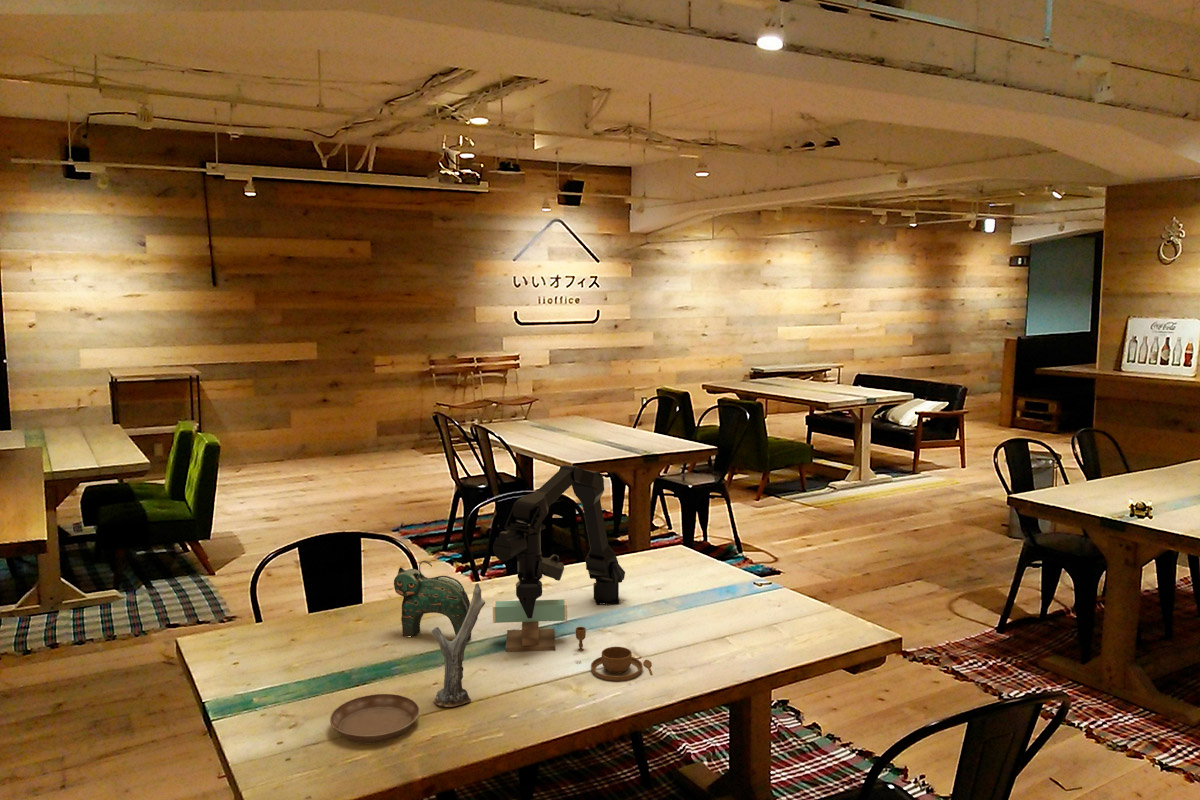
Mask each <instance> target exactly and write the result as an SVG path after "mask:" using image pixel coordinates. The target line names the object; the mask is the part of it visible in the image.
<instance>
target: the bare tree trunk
mask: <svg viewBox="0 0 1200 800" xmlns="http://www.w3.org/2000/svg"><path fill="white" fill-rule="evenodd" d="M485 604H486V601H485V600H484V599H483V598H482V589H481V586H480V584H479V583H478V582H477V583H475V585H474V588H473V591H472V598H471V601H470V607H469V610H468V613H467V615H466V617H465V620H464V622H463V624H462V627H461V629H460V631H459V633H458V634H457V636H455V637H454V638H453V639H452V640H448V639H447V638H446V637H445V635H444V634H443V632H442V630H441V629H440V627H438V626H437V627H434V628H433V629H432V630H431V634H432V637H433V638H434V640H435V641H436V643H438V645H439V649H440V651H441V654H442V656H443V658H444V676H443V678H444V679H443V688H441V689H439V690H438V691H437V692H436V695H435V698H434V699H433V700H432V701H433V702H434V703H435V704H436V706H437V705H438V706H444V707H446V708H447V707H451V708H452V707H456V706H462V705H464V704H467V703H471V701H472V699H471V698H470V696H469V693H468V691H467V690H466V689H464V688H463V681H462V680H463V678H464V674H463V673H464V666H463V661H464V657H465V651H466V650H465V649H466V646H467V643H468V642H467V639H468V637H469V635H470V633H471V634H472V630H473V629H474V627H475V625H476V624H477V621H478V619H479V618H478V616H479V615H480V613H481V610H482V609H483V607H484V606H485Z"/></svg>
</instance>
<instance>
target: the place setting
mask: <svg viewBox="0 0 1200 800" xmlns="http://www.w3.org/2000/svg"><path fill="white" fill-rule="evenodd" d="M586 630H587V629H586V627H584V626H577V627H575V638H576V640H578V642H579V643H578V649H577V650H578V651H579V652H582V651H584V648H583V647H584V644H583V641H585V638H586V635H587V631H586ZM581 663H582V660H576V662H575V664H578V665H579V664H581ZM601 665H602V666H603V668H604V669H605V670H607V671H608V672H609V673H611V674H614V675H608V674H603V673H600V672H598V671H596V670H597V667H599V666H601ZM631 665H633V666H634V667H636V668H637V671H636V672H633V673H630V674H626V675H617V674H623V673H624V672H626V670H628V669H630V667H631ZM643 665H644V667H645V668H648V671H649V675H650V676H654V673H653V672H652V670H651V666H652V662H651V660H649V659H645V660H644V661H643V662H641V661H640V660H639V659H638V658H636V657H633V656H632V651H631V649H629V648H627V647H624V646H610V647H606V648H604V649H603V650H602V651H601V656H600V657H597V658H596V659H594V660H593V661H592V662H591V664H590V670H591V672H592V673H593V675H595V676H596V677H597V678H599V679H600V680H605V681H609V682H622V681H623V682H624V681H629V680H632V679H635V678H637V677H638V676H639V675H641V673H642V671H643ZM615 674H616V675H615Z"/></svg>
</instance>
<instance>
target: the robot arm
mask: <svg viewBox="0 0 1200 800" xmlns="http://www.w3.org/2000/svg"><path fill="white" fill-rule="evenodd" d="M570 487H571V489H572V491H573V493H574V496H575V497H577V499H578V500H579V502H580V503H581V505H582V510H583V515H584V521H585V526H586V532H587V537H588V542H589V548H590V550H589V552H588V554H587V556H585V557H584V562H585V569H586V571H588V576H589V578H590V579H593V580H595V582H593V600H594V601H595V604H596V605H618V604H620V603H621V602H620V598H619V595H620V594H619V593H620V592H619V590H620V588H619V584H621V583H623V581H624V580H625V576H626V571H625V570H624V569H623V567H622V566H621V565H620V564H619V560H618V558H617V553H616V552H614V550H613V549H612V548H611V546H610V545H609V542H608V536H607V531H606V524H605V519H604V513H603V508H602V502H601V498H602V496H603V494H604V491H605V479H604V475H603V474H602V473H601V472H600V471H596V470H594V471H593V470H588V469H583V468H581V467H579V466H576V465H569V464H564V465H561V466H560V467H559V470H557V472H556V473H555V474H553V476H551V477H550V478H549V479H548V480H547V481H546V482H545V483H544V484H542V485H541V486H540V487H539V488H538V489H537V490H536V491H534V492H533V493H528V494H525V495H523V496H521V497H520V498H518V499H517V500H515V502H513V505H512V508H511V511H510V512H509V515H508V517H507V519H506V523H505V524H504V529H505V531H500V532H499V533H498V537H497V538H496V539H495V540H494V541H493V544H492V551H493V554H494V556H495V558H496V559H497V560H498V561H500V562H507V561H510V560H511V559H514V558H516V559H517V560H516V561H517V579H518V581H517V582H516V583H515V596H516V598H517V599H518V601H520V603H521V605H522V607H523V609H524V611H525V613H526V616H527V618H532V616H533V611H534V606H535V601H536V600H538V598H541V597H542V595H543V582H542V581H541V579H542V578H543V576H545V577H549V578H551V579H554V580H555V581H558V582H559V581H561V578H562V576H563V573H564V571H565V564H564V563H563V561H561V562H560V557H559V555H557V554H554V553H553V554H552V555H551V556H550V557H543V552H542V550H541V546H542V545H541V543H542V542H541V541H542V539H541V538H542V537H541V531H543V530H545V529H547V527H546V525H544V523H542V522H543V521H544V520H545V518H546V517H547V516H548V514H549V509H550V506H551V505H552V504H553V503H554V502H555V501H557V500H558V499H559V497H561V496H562V495H563V494H564V493H565V492H566V491H567V490H569V488H570Z"/></svg>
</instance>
